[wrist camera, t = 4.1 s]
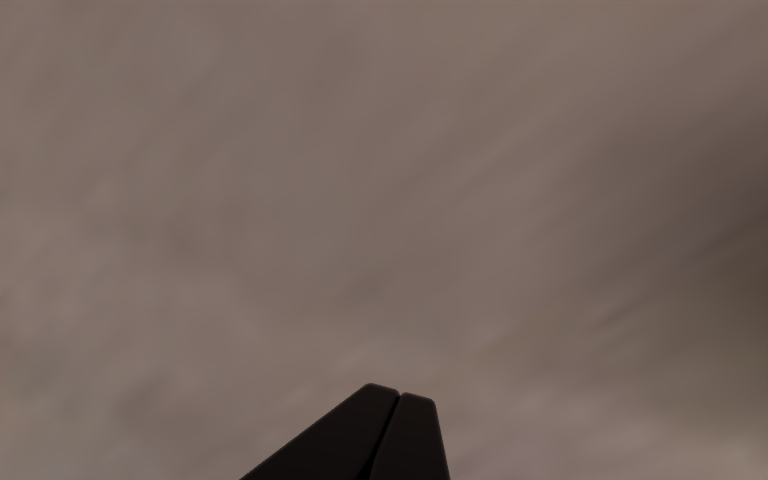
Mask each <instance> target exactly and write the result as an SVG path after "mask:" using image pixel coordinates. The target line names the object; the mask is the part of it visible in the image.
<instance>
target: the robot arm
mask: <svg viewBox="0 0 768 480" xmlns="http://www.w3.org/2000/svg"><path fill="white" fill-rule="evenodd" d="M239 480H450V475H449V470H448V465H447V460H446V455H445V450H444V445H443V440H442V435H441V430H440V425H439V420H438V415H437V410H436V405H435V403H434V401H433V400H432V399H430V398H426V397H422V396H419V395H415V394H411V393H407V392H405V393H403V394H402V395H401V396H400V394H399V392H398V391H397V390H396V389H392V388H389V387H385V386H381V385H377V384H374V383H369V384H366V385H364V386H363V387H362V388H360V389H359V390H358V391H356V392H355V393H354V394H352V395H351V396H350V397H348V398H347V399H346V400H344V401H343V402H342V403H340V404H339V405H338V406H336V407H335V408H334V409H332V410H331V411H330V412H328V413H327V414H326V415H324V416H323V417H322V418H320V419H319V420H318V421H316V422H315V423H314V424H312V425H311V426H310V427H308V428H307V429H306V430H304V431H303V432H302V433H300V434H299V435H298V436H296V437H295V438H294V439H292V440H291V441H290V442H288V443H287V444H286V445H284V446H283V447H282V448H280V449H279V450H278V451H276V452H275V453H274V454H272V455H271V456H270V457H269V458H267V459H266V460H265V461H263V462H262V463H261V464H259V465H258V466H257V467H255V468H254V469H253V470H251V471H250V472H249V473H247V474H246V475H245V476H243V477H242V478H241V479H239Z"/></svg>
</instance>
